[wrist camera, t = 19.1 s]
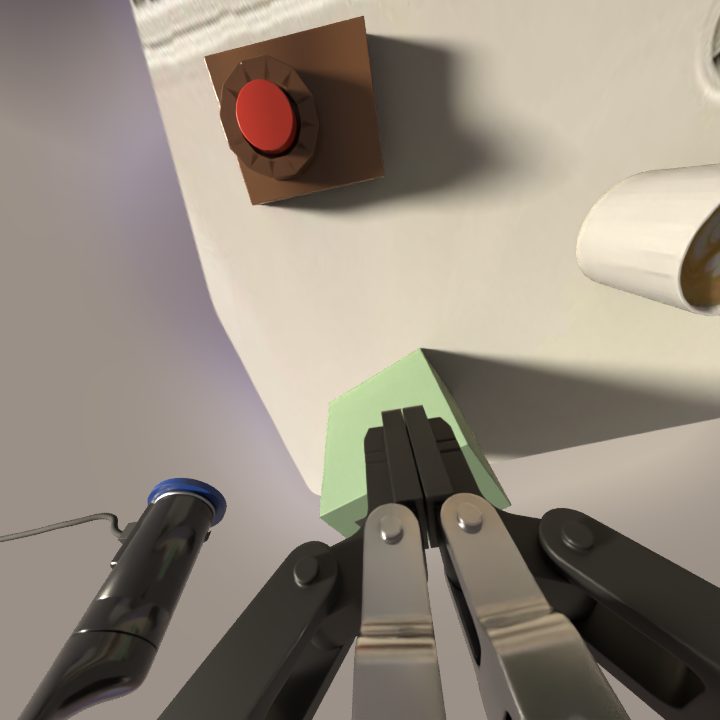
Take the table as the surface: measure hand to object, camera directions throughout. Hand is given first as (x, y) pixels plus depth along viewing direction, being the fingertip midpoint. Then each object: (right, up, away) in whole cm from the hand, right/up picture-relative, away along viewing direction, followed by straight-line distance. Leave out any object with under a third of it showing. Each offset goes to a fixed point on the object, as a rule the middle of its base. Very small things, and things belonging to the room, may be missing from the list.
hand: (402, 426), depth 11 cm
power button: (-8, +19, +10) cm, 23 cm away
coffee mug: (+26, +15, +17) cm, 35 cm away
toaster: (+2, -3, +26) cm, 26 cm away
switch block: (-6, +21, +13) cm, 25 cm away
